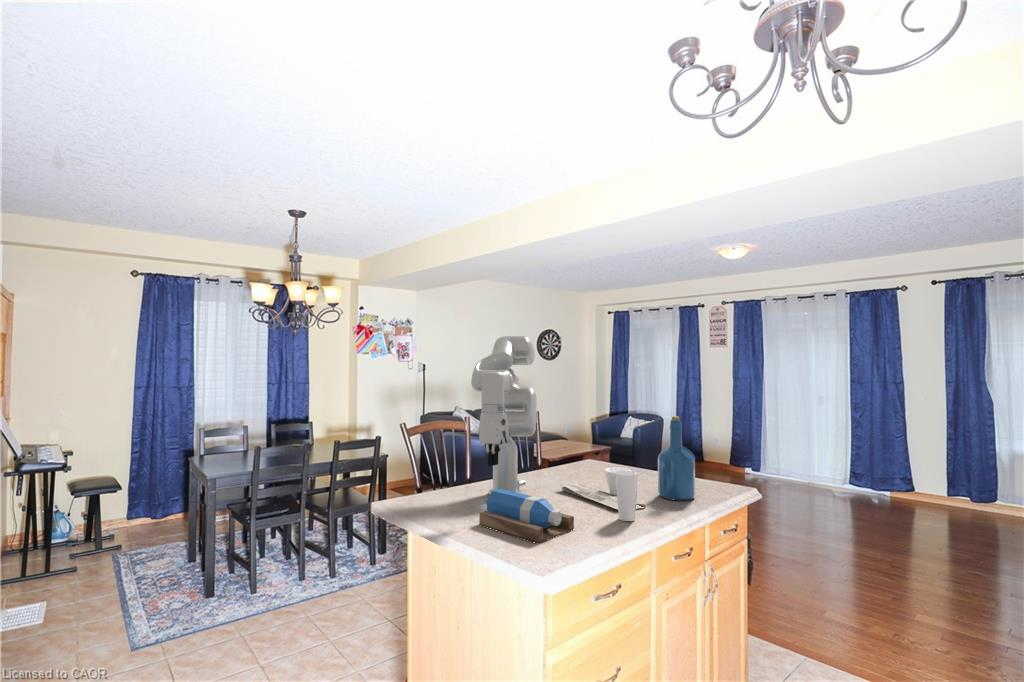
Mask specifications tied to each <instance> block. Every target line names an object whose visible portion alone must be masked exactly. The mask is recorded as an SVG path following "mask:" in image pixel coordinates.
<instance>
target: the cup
mask: <svg viewBox="0 0 1024 682" xmlns="http://www.w3.org/2000/svg"><path fill="white" fill-rule="evenodd" d="M618 471H632V470H631V469H629V468H626V467H615V466H614V467H607V468H605V469H604V474H605V477H606V481H607V482H606V483H607V486H608V491H609V494H613V495H616V496H617V491H616V472H618Z"/></svg>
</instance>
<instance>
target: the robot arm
mask: <svg viewBox="0 0 1024 682" xmlns="http://www.w3.org/2000/svg"><path fill="white" fill-rule="evenodd" d="M491 351H492V352H491V354H489V355H487V356H485V357H484V358H482V359H480V360H479V361H478V362H477V363H475V366H474V368H473V371H472V375H471V379H470V380H471V387H472V389H473V390H474V391H476V392H479V393H481V412H480V416H479V422H478V423H479V424H478V438H479V439H478V440H479V441H480V445H481V446H482V447H484V448H485V449H486V450H485V451H486V453H487V466H491V467H492V488H491V489H489V490H488V494H489V496H490V494H491V492H492V491H494V490H497V489H503V490H507V491H512V492H516V493H521V494H523V493H522V489H520V488H521V487H522V486H526V483H527V482H526V481H525V480H519V478H518V446H517V444H516V442H515V441H514V440H513V438H512V437H531V436H533V435H534V434H535V432H536V430H537V429H536V427H537V404H538V403H537V393H536V391H535V390H534V388H532V387H529V386H520V385H519V384H520V378H519V376H518V374H517V373H516V371H514V370H513V369H512V366H530V365H533V363H534V361H535V358H536V357H535V354H536V353H535V349H534V346H533V342H532V341H531V339H530V338H529V337H527V336H525V335H505V336H504V335H503V336H500V337H498V338H497V339H495V342H494V345H493V348H492V350H491Z"/></svg>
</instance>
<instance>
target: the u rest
mask: <svg viewBox="0 0 1024 682" xmlns="http://www.w3.org/2000/svg"><path fill="white" fill-rule="evenodd" d="M560 513H561V514H562V520H561V522H560V524H559V525H557V526H555V525H551V526H549V527H547V528H545V529H543V528H542V527H539V526H536V525H532V524H529V523H525V522H522V521H518V520H515V519H511V518H508V517H505V516H501V515H498V514H494V513H491V512H487V510H483V511H481V512H480V511H479V514H478V515H479V517H478V518H479V523H478V524H479V526H480V525H482V526H481V527H483V526H485V527H484V528H486V527H488V528H487V529H489V528H491V529H490V530H492V529H494V530H493V531H495V530H497V531H496V532H498V531H500V532H499V533H501V532H503V533H502V534H504V535H508V536H511V535H512V536H511V537H514V536H515V537H514V538H517V537H519V538H518V539H520V538H522V539H521V540H523V539H525V540H524V541H526V540H528V542H529V541H531V542H530V543H533V542H535V543H534V544H536V543H539V544H541V543H540V542H542V543H544V542H546V541H545V540H547V541H549V540H552V539H554V538H557V537H559V536H561V535H560V534H562V535H564V534H563V533H565V532H567V533H569V532H568V531H570V532H572V531H574V530H575V516H574V515H569V514H566V513H562V512H560ZM573 529H574V530H573ZM571 530H572V531H571ZM565 534H566V533H565ZM558 535H559V536H558ZM556 536H557V537H556ZM553 537H554V538H553ZM551 538H552V539H551ZM548 539H549V540H548ZM543 541H544V542H543Z"/></svg>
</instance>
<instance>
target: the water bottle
mask: <svg viewBox="0 0 1024 682" xmlns="http://www.w3.org/2000/svg"><path fill="white" fill-rule="evenodd" d="M486 511H487V512H491V513H494V514H498V515H501V516H505V517H508V518H511V519H515V520H518V521H522V522H525V523H529V524H532V525H536V526H539V527H542V528H543V529H545V528H547V527H549V526H551V525H555V526H557V525H559V524H560V522H561V520H562V514H563V513H562V512H560V511H559V510H555V509H554V507H553V506H552V504H551V503H550V501H549V500H548V499H547V498H542V497H538V496H534V495H530V494H525V493H522V494H521V493H516V492H512V491H507V490H503V489H497V490H494V491H492V492H491V494H490V495H489V496H488V497H487V499H486ZM561 513H562V514H561Z"/></svg>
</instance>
